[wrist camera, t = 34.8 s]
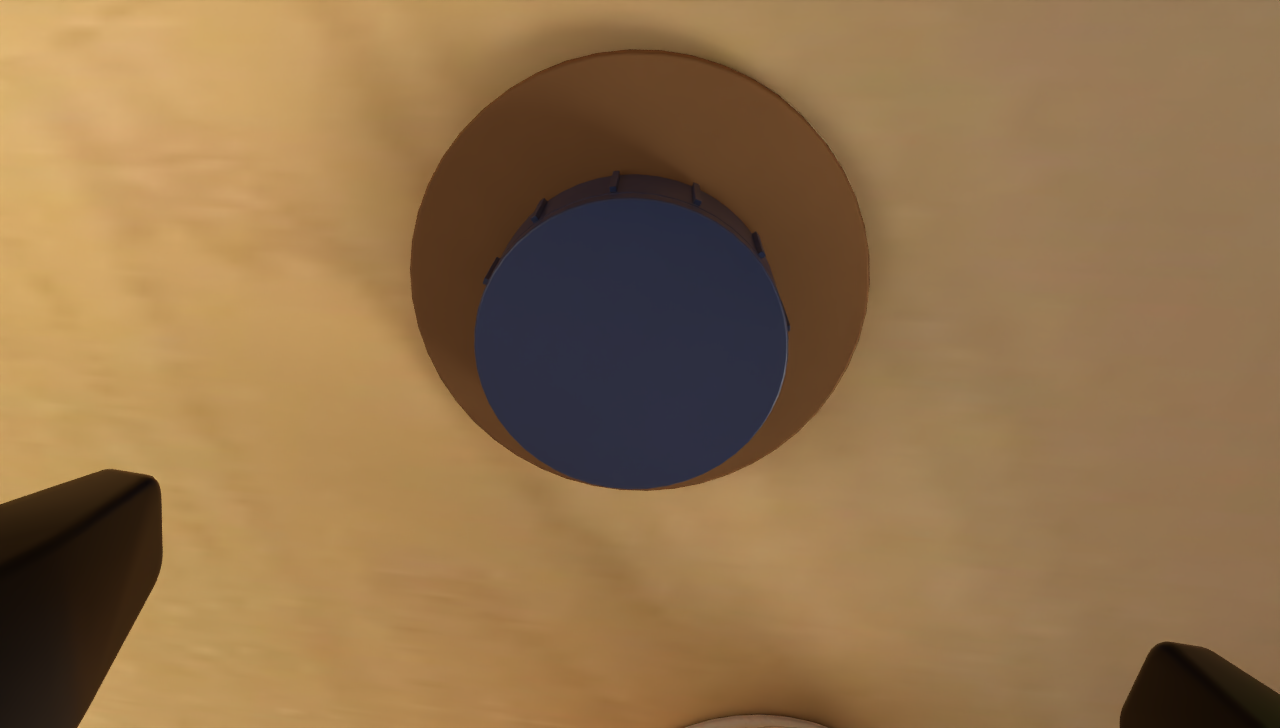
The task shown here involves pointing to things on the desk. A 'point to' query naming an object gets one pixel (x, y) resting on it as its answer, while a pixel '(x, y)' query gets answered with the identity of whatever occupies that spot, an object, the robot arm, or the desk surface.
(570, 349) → the jar lid
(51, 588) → the robot arm
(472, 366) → the coaster
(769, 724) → the lidded bowl
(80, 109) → the desk surface
